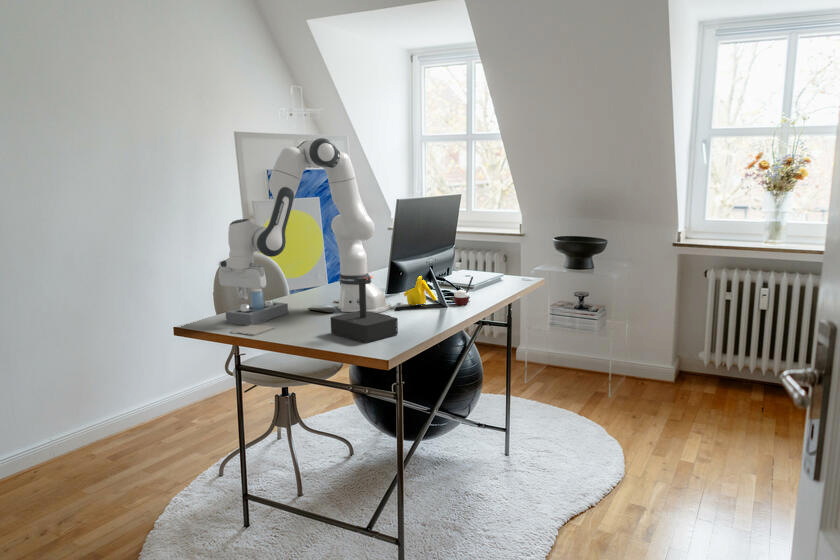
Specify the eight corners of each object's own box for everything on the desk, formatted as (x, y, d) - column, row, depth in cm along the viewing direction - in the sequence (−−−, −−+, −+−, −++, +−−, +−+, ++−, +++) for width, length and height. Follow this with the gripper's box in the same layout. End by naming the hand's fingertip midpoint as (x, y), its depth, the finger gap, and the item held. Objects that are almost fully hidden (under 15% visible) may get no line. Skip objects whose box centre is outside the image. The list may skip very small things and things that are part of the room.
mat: (274, 328, 229) (274, 327, 229) (254, 335, 219) (254, 334, 219) (251, 325, 234) (251, 324, 234) (230, 332, 224) (230, 331, 224)
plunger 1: (251, 315, 241) (250, 304, 240) (245, 317, 238) (245, 306, 237) (245, 314, 242) (244, 303, 241) (239, 316, 239) (238, 305, 239)
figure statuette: (439, 306, 263) (439, 253, 259) (427, 309, 257) (427, 255, 254) (407, 301, 274) (406, 250, 271) (395, 304, 268) (394, 252, 265)
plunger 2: (275, 311, 253) (274, 300, 253) (270, 313, 251) (269, 302, 250) (269, 310, 255) (268, 300, 254) (263, 312, 252) (263, 301, 251)
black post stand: (402, 334, 219) (401, 277, 215) (365, 344, 207) (363, 284, 204) (366, 325, 232) (364, 272, 229) (329, 334, 220) (327, 278, 217)
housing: (264, 310, 259) (264, 301, 258) (288, 313, 254) (287, 303, 253) (226, 322, 240) (225, 312, 239) (251, 325, 234) (250, 314, 234)
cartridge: (266, 317, 248) (265, 288, 246) (258, 319, 244) (257, 291, 242) (257, 316, 250) (255, 288, 248) (249, 318, 246) (247, 290, 244)
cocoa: (449, 305, 266) (447, 277, 264) (458, 302, 271) (456, 275, 269) (467, 307, 260) (465, 278, 258) (476, 304, 264) (474, 276, 262)
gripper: (269, 263, 235) (270, 299, 237) (227, 260, 244) (229, 295, 246) (257, 265, 229) (259, 302, 231) (215, 262, 238) (217, 298, 240)
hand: (243, 299), depth 239 cm, fingers closed
